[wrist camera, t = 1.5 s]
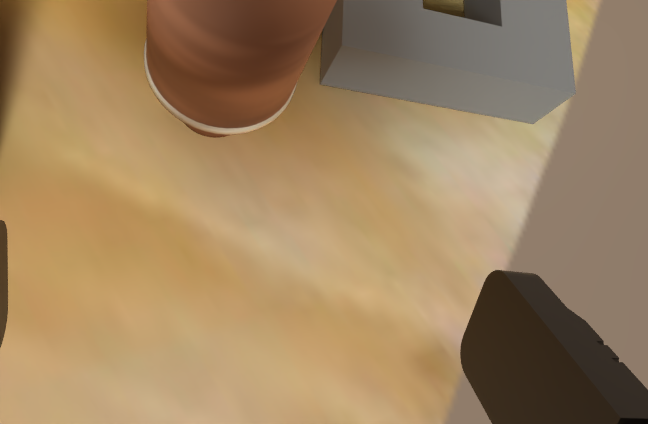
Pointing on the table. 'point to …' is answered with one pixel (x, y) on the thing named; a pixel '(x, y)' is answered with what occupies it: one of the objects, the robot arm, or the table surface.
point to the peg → (229, 58)
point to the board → (454, 54)
